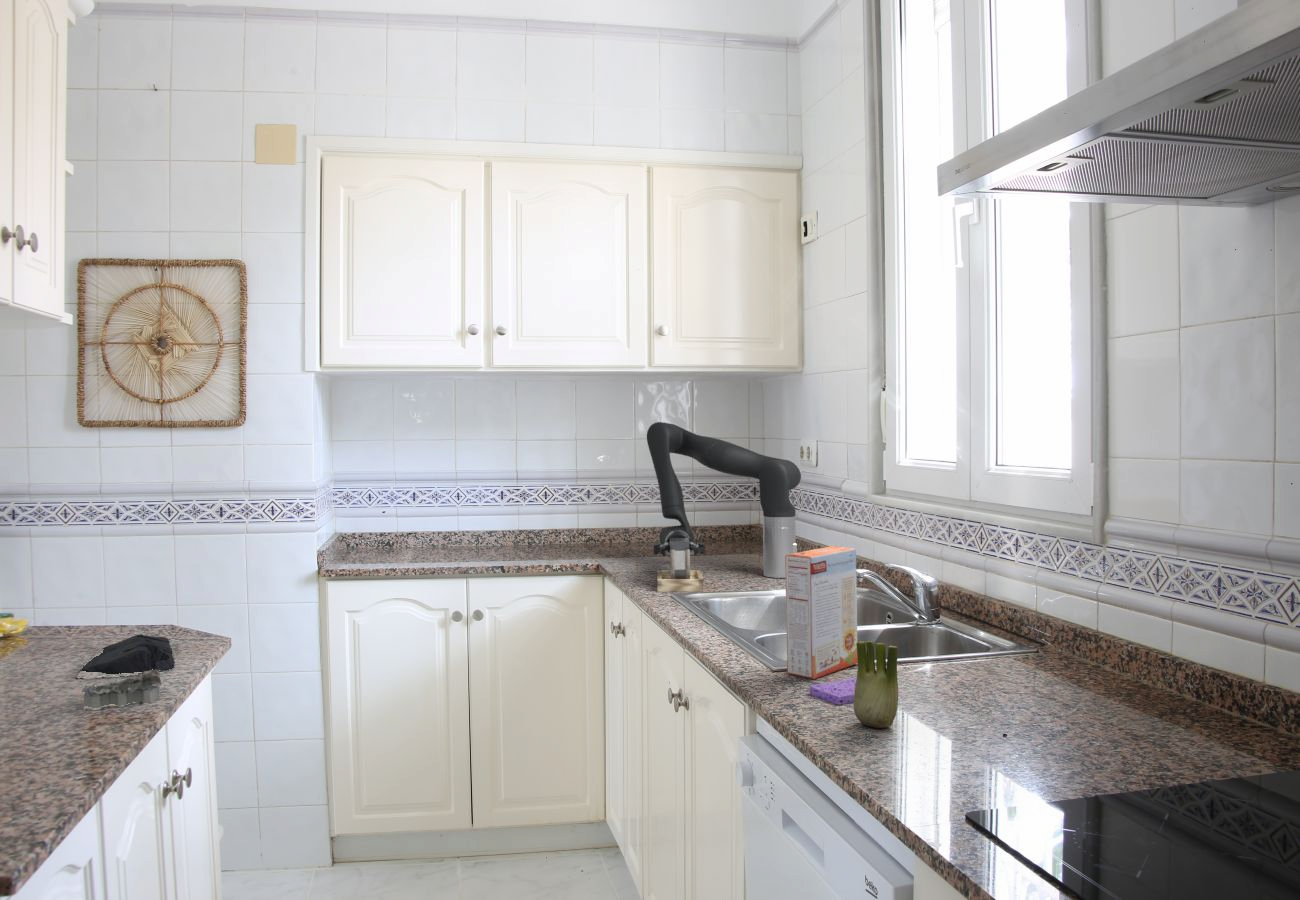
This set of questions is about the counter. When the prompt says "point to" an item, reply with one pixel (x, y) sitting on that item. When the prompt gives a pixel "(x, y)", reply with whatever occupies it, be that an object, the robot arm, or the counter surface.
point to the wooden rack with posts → (669, 583)
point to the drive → (679, 555)
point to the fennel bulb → (876, 685)
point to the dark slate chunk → (133, 656)
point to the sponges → (835, 691)
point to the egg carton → (125, 691)
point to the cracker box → (821, 611)
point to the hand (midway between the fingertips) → (679, 551)
